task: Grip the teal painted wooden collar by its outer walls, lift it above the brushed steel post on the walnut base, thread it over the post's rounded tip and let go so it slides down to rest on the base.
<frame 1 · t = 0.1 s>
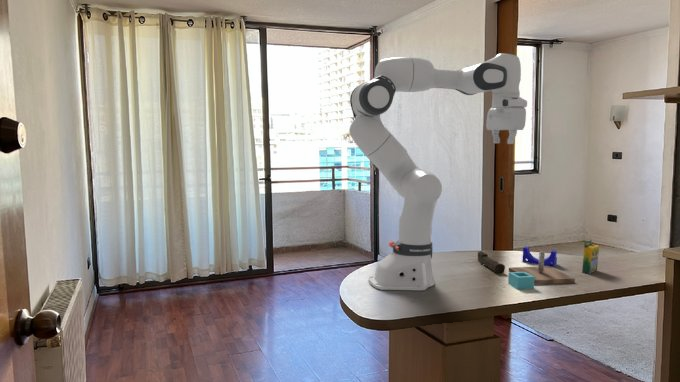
hand: (503, 143, 168), 48 cm above the table, tool pointing down, fingers open, 8 cm apart
crayon box: (589, 272, 185), on the table
blue curved cradle: (539, 264, 196), on the table
dark brown rod: (487, 268, 189), on the table
post stand: (540, 276, 177), on the table
collar: (520, 286, 166), on the table
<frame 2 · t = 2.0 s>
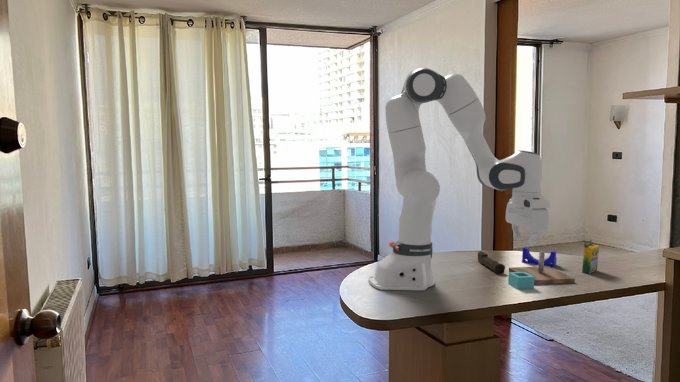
hand: (524, 240, 164), 16 cm above the table, tool pointing down, fingers open, 8 cm apart
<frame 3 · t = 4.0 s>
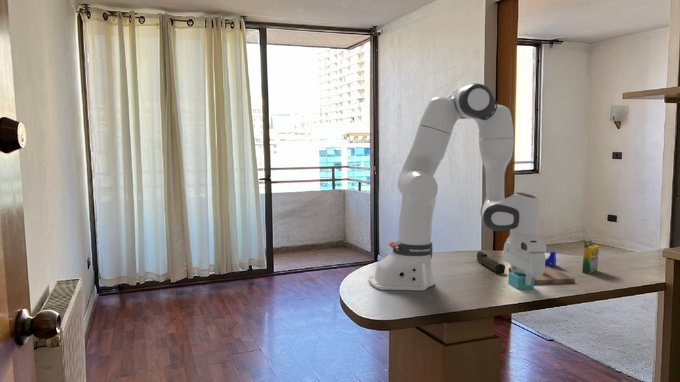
hand: (521, 281, 166), 2 cm above the table, tool pointing down, fingers closed on collar, 6 cm apart
collar: (520, 286, 166), on the table, touching gripper
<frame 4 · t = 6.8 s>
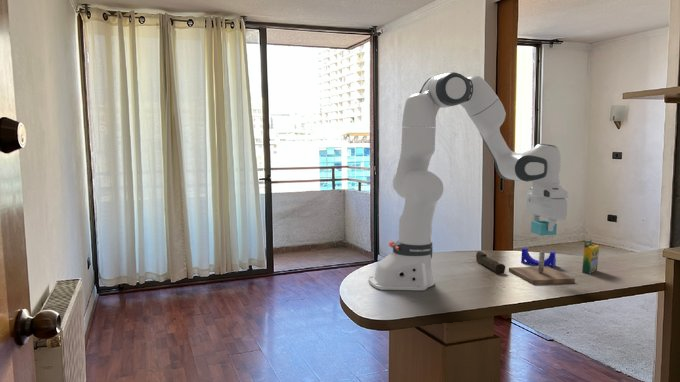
hand: (543, 228, 174), 18 cm above the table, tool pointing down, fingers closed on collar, 6 cm apart
collar: (543, 233, 174), point 16 cm above the table, touching gripper
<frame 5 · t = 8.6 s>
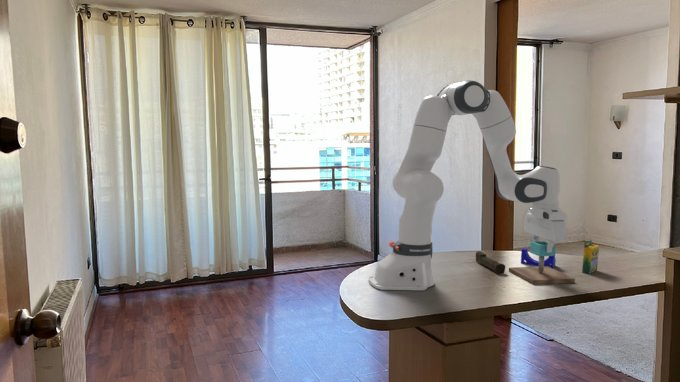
hand: (542, 249, 176), 10 cm above the table, tool pointing down, fingers closed on collar, 6 cm apart
collar: (542, 254, 176), point 8 cm above the table, touching gripper
when the fingers open (10 cm above the table, at t = 9.9 s): collar drops 6 cm, resting on post stand.
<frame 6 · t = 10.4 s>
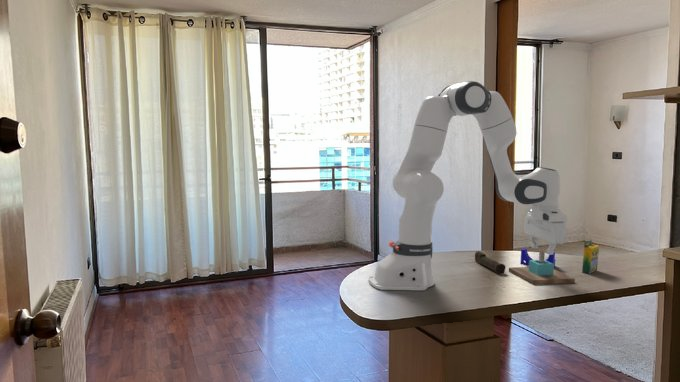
hand: (542, 251, 176), 10 cm above the table, tool pointing down, fingers open, 8 cm apart
collar: (540, 272, 177), point 1 cm above the table, touching post stand
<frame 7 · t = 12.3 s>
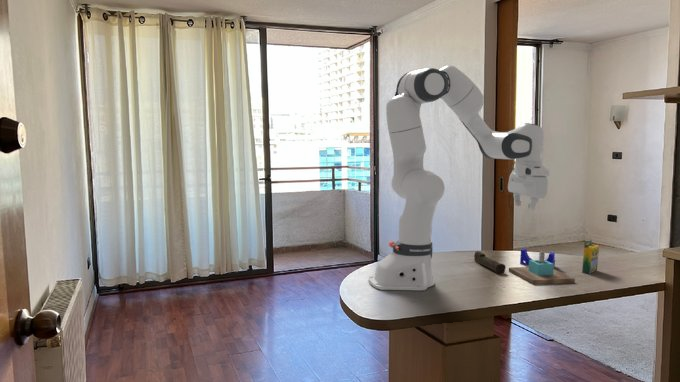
hand: (524, 207, 177), 25 cm above the table, tool pointing down, fingers open, 8 cm apart
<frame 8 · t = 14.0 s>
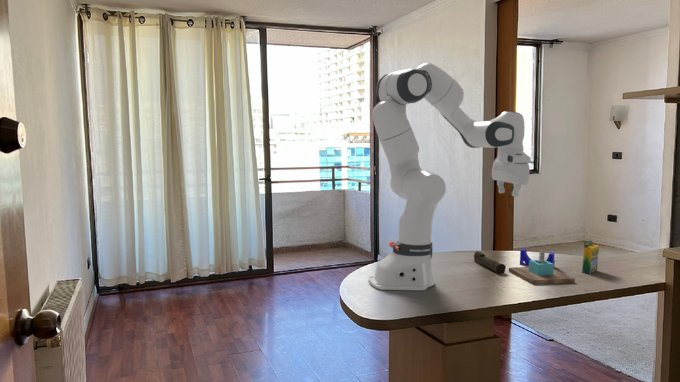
hand: (508, 194, 179), 29 cm above the table, tool pointing down, fingers open, 8 cm apart
at the end: collar 0.0 cm from the post stand (horizontally); collar point 1.5 cm above the table; the gripper is holding nothing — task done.
